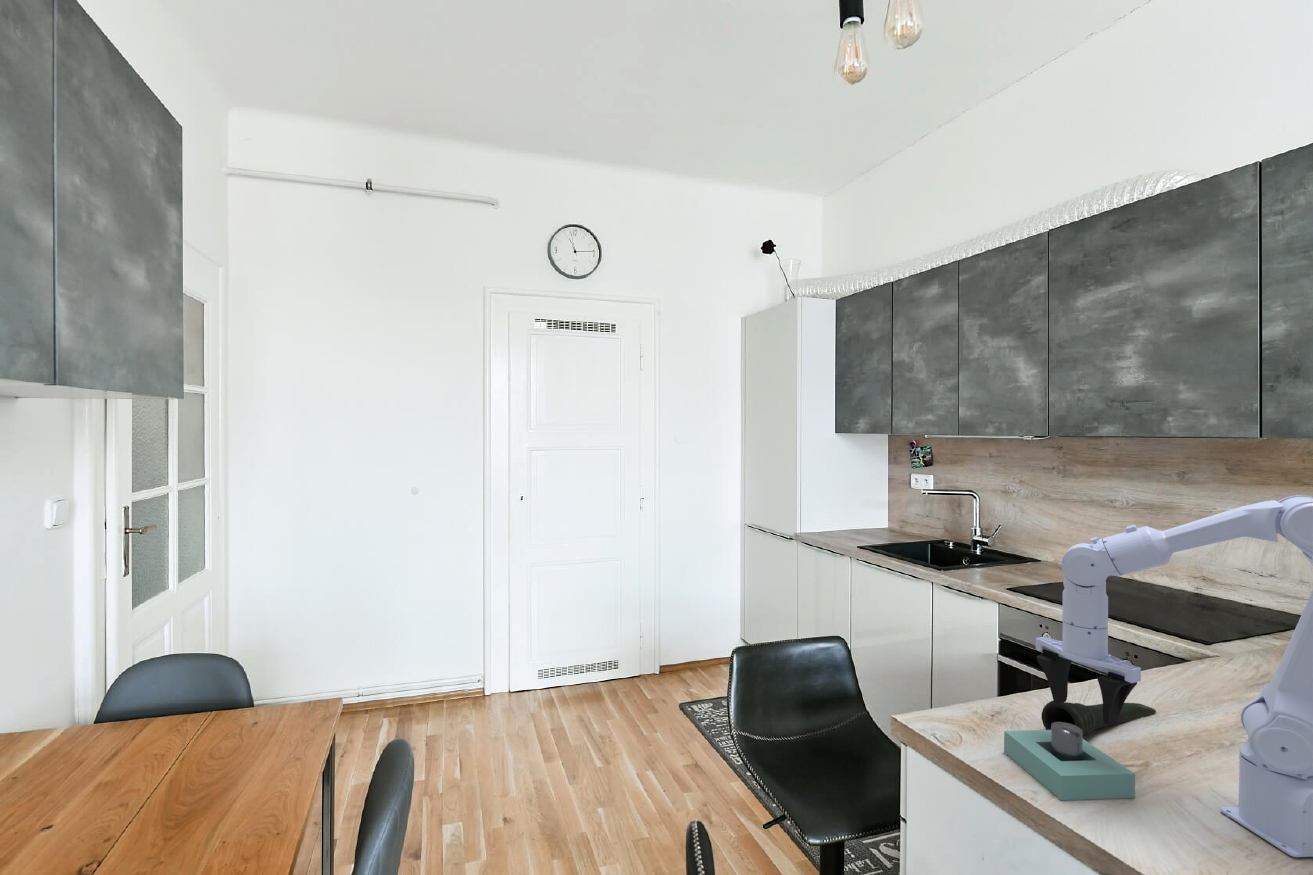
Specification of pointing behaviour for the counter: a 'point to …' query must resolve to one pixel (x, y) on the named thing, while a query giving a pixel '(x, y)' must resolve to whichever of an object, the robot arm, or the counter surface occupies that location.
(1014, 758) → the hole block
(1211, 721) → the counter surface
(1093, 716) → the tool
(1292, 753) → the robot arm
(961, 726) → the counter surface
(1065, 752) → the pin
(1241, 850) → the counter surface
